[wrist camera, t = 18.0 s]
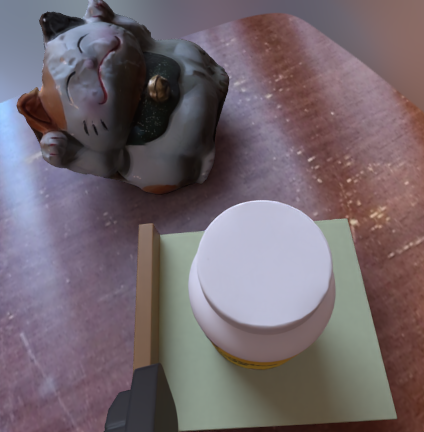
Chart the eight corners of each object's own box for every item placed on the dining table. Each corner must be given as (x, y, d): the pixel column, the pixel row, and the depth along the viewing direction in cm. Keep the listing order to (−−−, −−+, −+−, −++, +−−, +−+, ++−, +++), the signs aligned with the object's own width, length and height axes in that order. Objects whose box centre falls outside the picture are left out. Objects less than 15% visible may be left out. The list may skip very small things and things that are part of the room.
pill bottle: (186, 330, 22) (136, 281, 12) (241, 251, 24) (236, 154, 14) (272, 395, 20) (297, 400, 10) (325, 304, 22) (388, 233, 12)
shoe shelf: (331, 244, 29) (355, 204, 23) (369, 413, 24) (413, 422, 17) (161, 259, 30) (138, 223, 23) (160, 425, 24) (129, 438, 18)
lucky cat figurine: (198, 218, 31) (53, 151, 20) (114, 197, 38) (-26, 139, 27) (251, 63, 32) (143, -78, 22) (160, 71, 40) (45, -31, 29)
